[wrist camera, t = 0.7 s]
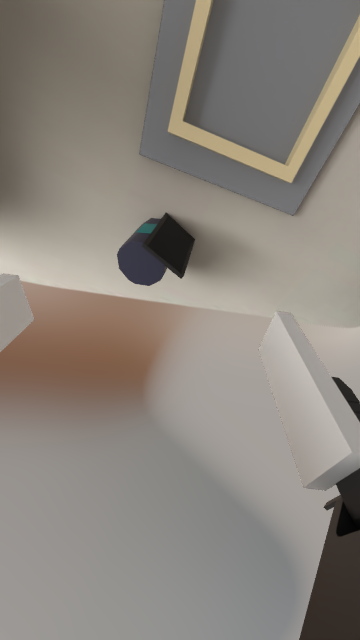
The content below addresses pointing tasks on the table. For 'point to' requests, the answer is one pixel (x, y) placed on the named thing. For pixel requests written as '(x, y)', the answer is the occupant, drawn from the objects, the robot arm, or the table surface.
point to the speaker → (155, 251)
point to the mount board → (253, 92)
